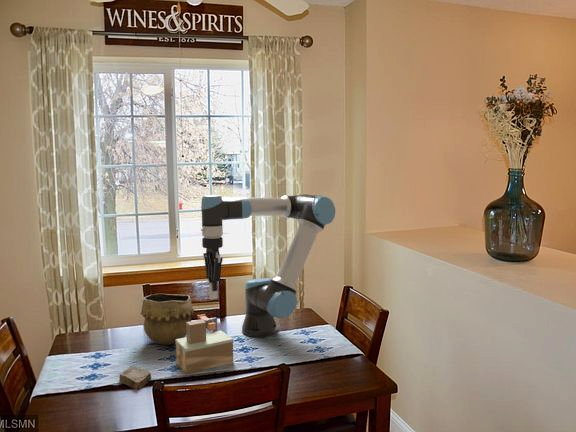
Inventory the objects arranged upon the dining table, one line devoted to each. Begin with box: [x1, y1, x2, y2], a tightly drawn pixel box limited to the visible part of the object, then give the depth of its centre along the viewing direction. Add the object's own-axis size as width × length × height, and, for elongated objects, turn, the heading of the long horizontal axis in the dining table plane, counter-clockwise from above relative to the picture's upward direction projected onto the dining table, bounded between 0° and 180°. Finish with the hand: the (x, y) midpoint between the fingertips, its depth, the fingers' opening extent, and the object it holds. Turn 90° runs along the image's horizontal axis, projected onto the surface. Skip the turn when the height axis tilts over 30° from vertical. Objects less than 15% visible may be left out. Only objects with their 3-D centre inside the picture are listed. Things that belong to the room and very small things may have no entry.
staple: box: [203, 317, 218, 332], centre depth 192 cm, size 2×6×13 cm, turn 121°
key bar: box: [196, 313, 216, 332], centre depth 194 cm, size 12×3×3 cm, turn 31°
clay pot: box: [140, 293, 195, 346], centre depth 201 cm, size 21×21×20 cm
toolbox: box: [175, 341, 234, 375], centre depth 181 cm, size 11×18×8 cm, turn 121°
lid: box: [175, 319, 234, 352], centre depth 181 cm, size 11×18×8 cm, turn 121°
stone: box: [118, 366, 152, 391], centre depth 168 cm, size 15×8×3 cm, turn 49°
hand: (213, 298), depth 186 cm, fingers closed
